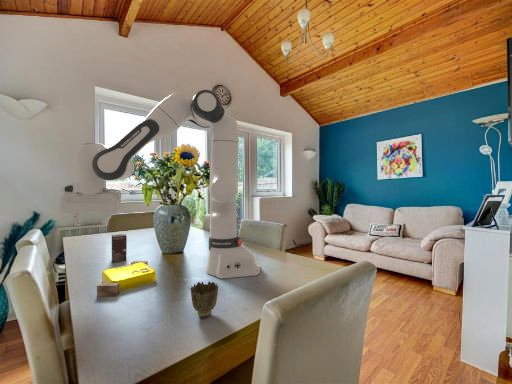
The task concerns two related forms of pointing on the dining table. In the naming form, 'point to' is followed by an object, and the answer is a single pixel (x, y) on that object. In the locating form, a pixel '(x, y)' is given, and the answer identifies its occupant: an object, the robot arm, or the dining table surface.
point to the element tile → (130, 275)
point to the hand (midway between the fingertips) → (91, 225)
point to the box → (119, 247)
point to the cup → (204, 298)
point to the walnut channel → (111, 286)
